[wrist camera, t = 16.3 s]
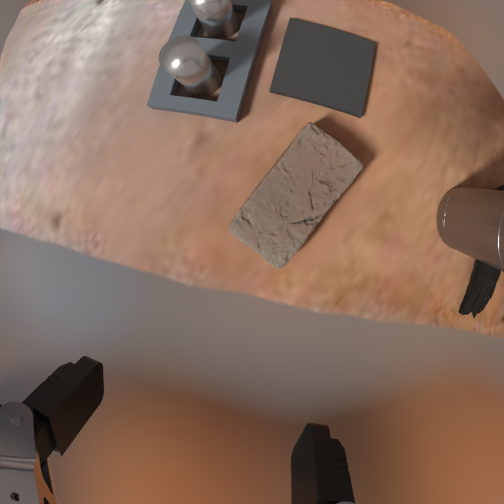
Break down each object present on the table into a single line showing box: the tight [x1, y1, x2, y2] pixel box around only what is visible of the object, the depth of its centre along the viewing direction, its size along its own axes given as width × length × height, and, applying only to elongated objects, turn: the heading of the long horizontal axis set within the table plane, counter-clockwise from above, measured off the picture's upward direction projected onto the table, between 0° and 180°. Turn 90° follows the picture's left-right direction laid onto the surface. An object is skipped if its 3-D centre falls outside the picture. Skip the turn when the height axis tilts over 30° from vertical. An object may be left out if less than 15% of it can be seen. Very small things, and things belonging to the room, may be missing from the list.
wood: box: [459, 185, 504, 318], centre depth 35 cm, size 22×7×3 cm, turn 170°
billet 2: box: [159, 35, 221, 97], centre depth 30 cm, size 5×5×10 cm
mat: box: [270, 18, 376, 118], centre depth 32 cm, size 12×12×1 cm
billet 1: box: [188, 0, 238, 40], centre depth 28 cm, size 5×5×10 cm
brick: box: [229, 122, 363, 268], centre depth 35 cm, size 17×8×5 cm, turn 143°
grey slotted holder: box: [147, 0, 272, 122], centre depth 33 cm, size 12×19×2 cm, turn 166°
